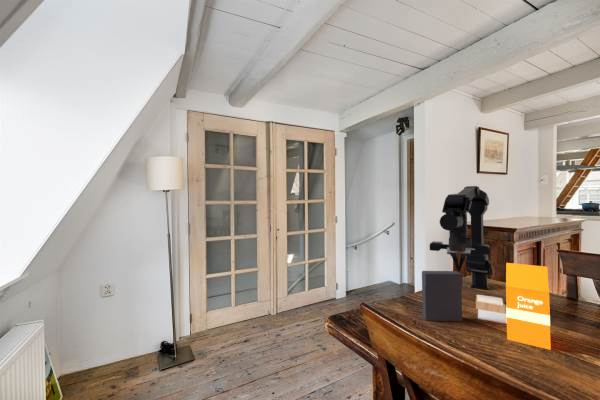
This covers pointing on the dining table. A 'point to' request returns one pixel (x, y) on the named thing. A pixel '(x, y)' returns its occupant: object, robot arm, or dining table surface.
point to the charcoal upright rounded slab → (442, 295)
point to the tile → (490, 304)
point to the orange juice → (528, 305)
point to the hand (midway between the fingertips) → (459, 271)
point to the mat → (492, 316)
